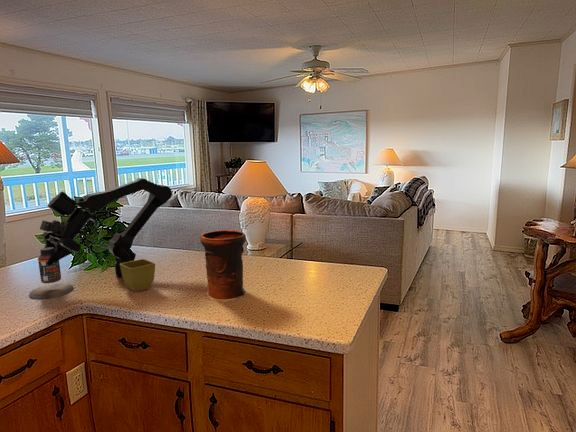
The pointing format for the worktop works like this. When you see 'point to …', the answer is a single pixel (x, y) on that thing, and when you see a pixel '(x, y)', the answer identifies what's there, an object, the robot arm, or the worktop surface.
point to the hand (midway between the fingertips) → (44, 262)
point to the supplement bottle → (48, 267)
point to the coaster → (51, 291)
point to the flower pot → (138, 274)
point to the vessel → (224, 264)
